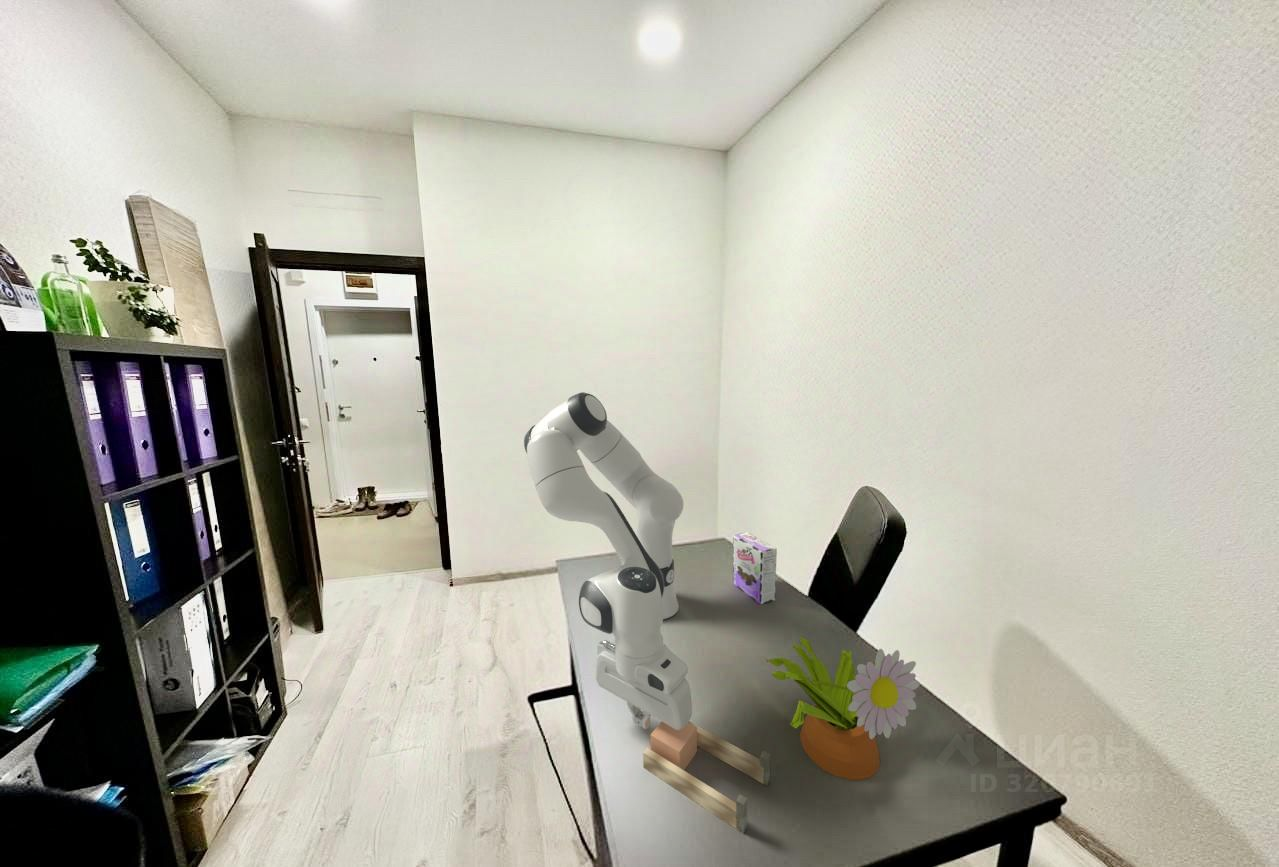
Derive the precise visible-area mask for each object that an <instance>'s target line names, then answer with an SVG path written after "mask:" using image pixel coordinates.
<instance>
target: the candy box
mask: <svg viewBox="0 0 1279 867" xmlns="http://www.w3.org/2000/svg"><path fill="white" fill-rule="evenodd" d="M732 536H733V537H732V538H733V539H732V543H733V544H732V584H733V585H734V586H735V587H736V588H738V589H739V590H741V591H742V592H744V593H745V595H746V596H749V598H751V599H753V601H755V602H756V603H758V604H759V605H763V604H768V603H771V602H776V585H777V584H776V580H777V577H776V576H777V553H778V552H777V551H778V548H777V547H775V546H773V545H772V544H769V543H768V542H766V541H764V540H762V539H760V538H759V537H757V536H755V535H754V534H752V533H750V532H748V531H746V532H742V533H738V534H733V535H732Z"/></svg>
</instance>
